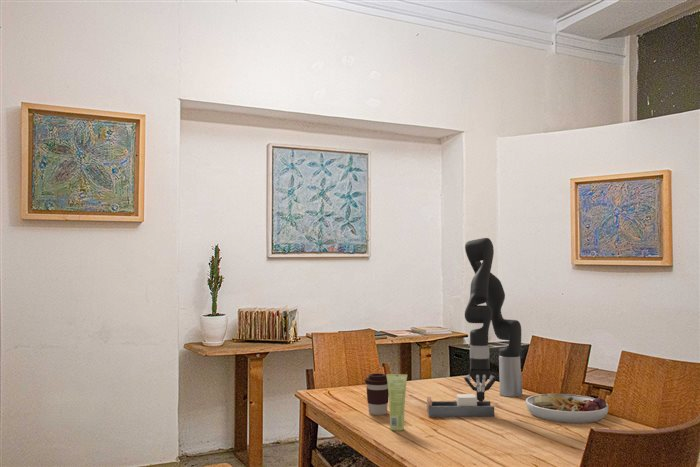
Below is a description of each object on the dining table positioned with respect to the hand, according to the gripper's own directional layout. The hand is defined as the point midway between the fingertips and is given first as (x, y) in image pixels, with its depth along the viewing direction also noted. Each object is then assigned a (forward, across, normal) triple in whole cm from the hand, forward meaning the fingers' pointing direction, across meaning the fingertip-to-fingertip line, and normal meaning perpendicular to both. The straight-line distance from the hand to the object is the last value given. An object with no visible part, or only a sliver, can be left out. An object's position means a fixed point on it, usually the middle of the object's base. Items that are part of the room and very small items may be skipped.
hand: (480, 401), depth 233 cm
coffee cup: (+5, +40, -2) cm, 40 cm away
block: (+4, +5, 0) cm, 7 cm away
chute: (+5, +8, 0) cm, 10 cm away
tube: (+5, +33, +21) cm, 39 cm away
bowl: (+6, -33, 0) cm, 33 cm away
